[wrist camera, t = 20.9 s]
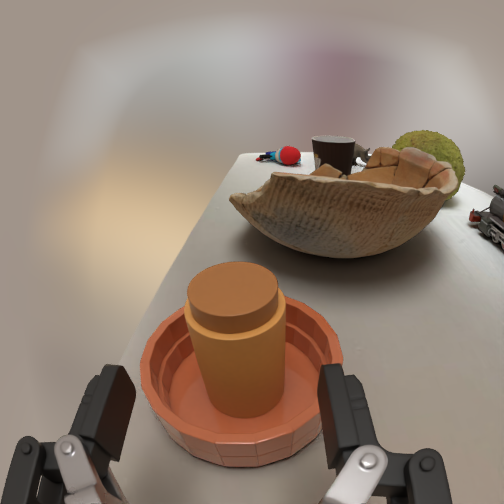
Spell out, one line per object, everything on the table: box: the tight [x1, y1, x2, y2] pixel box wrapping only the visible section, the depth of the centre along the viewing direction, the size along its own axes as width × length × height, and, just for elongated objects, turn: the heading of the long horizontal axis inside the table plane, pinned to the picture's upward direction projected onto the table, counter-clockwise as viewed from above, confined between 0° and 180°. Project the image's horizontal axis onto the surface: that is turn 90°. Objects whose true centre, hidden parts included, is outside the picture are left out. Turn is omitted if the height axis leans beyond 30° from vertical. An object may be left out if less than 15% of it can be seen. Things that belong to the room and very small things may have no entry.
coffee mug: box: [312, 136, 355, 177], centre depth 58 cm, size 12×9×10 cm
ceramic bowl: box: [229, 147, 459, 258], centre depth 37 cm, size 30×27×15 cm
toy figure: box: [256, 146, 301, 165], centre depth 78 cm, size 8×5×15 cm
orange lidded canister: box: [184, 262, 286, 418], centre depth 18 cm, size 6×6×9 cm
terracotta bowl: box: [140, 296, 343, 467], centre depth 20 cm, size 13×13×4 cm
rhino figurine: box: [352, 144, 371, 165], centre depth 74 cm, size 4×14×6 cm, turn 50°
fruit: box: [392, 130, 465, 200], centre depth 50 cm, size 16×14×15 cm
